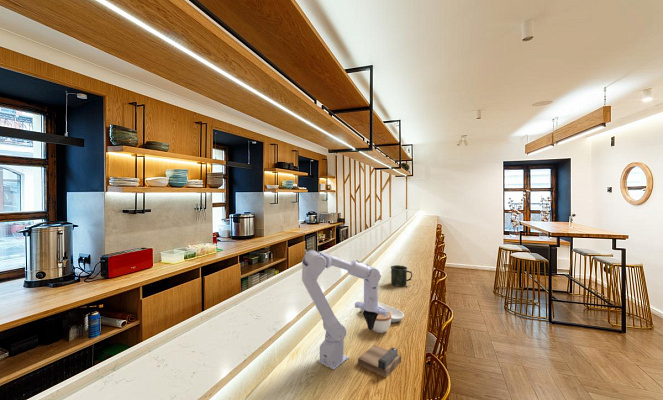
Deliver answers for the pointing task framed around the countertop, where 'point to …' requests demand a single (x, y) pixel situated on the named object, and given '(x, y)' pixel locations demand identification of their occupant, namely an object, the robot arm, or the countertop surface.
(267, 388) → the countertop surface
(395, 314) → the spoon rest
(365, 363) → the stool seat
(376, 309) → the robot arm
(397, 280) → the mug
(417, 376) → the countertop surface
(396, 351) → the folding leg
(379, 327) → the lidded jar
